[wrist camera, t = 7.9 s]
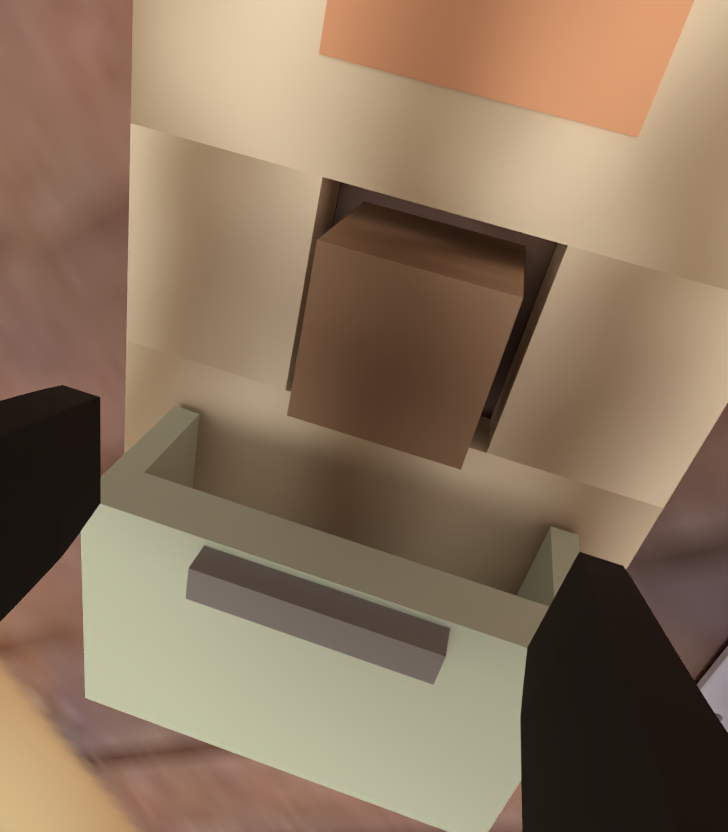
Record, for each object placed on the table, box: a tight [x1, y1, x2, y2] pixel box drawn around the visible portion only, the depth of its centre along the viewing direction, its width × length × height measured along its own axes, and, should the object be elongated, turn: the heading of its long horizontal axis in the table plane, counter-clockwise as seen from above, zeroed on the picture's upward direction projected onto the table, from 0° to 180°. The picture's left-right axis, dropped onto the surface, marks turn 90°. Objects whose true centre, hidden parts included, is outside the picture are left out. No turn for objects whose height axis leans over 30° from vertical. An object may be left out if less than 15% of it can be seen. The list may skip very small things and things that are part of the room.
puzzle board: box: [124, 0, 728, 596], centre depth 17 cm, size 16×26×2 cm, turn 167°
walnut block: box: [287, 202, 525, 470], centre depth 16 cm, size 4×4×4 cm
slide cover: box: [81, 406, 580, 832], centre depth 18 cm, size 12×8×6 cm, turn 77°
